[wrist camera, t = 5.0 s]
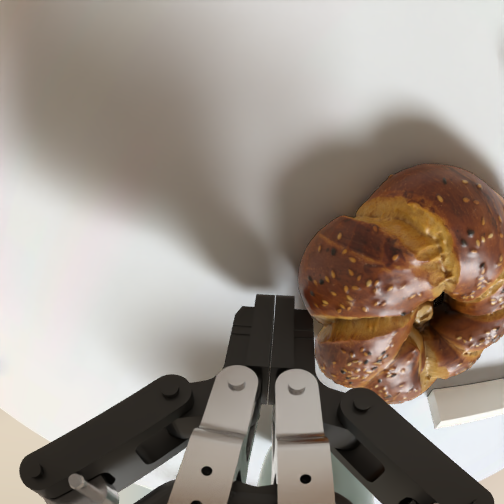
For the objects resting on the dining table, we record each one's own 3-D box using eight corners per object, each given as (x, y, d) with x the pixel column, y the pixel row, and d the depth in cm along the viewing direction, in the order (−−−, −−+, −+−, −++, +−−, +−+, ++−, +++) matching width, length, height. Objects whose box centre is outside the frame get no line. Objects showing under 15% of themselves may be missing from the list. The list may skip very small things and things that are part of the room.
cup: (331, 399, 18) (331, 555, 9) (384, 434, 20) (393, 550, 12) (242, 431, 21) (222, 553, 12) (304, 460, 23) (298, 561, 15)
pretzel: (465, 359, 16) (483, 407, 12) (294, 370, 17) (292, 427, 14) (535, 170, 9) (586, 206, 6) (297, 148, 11) (300, 184, 8)
